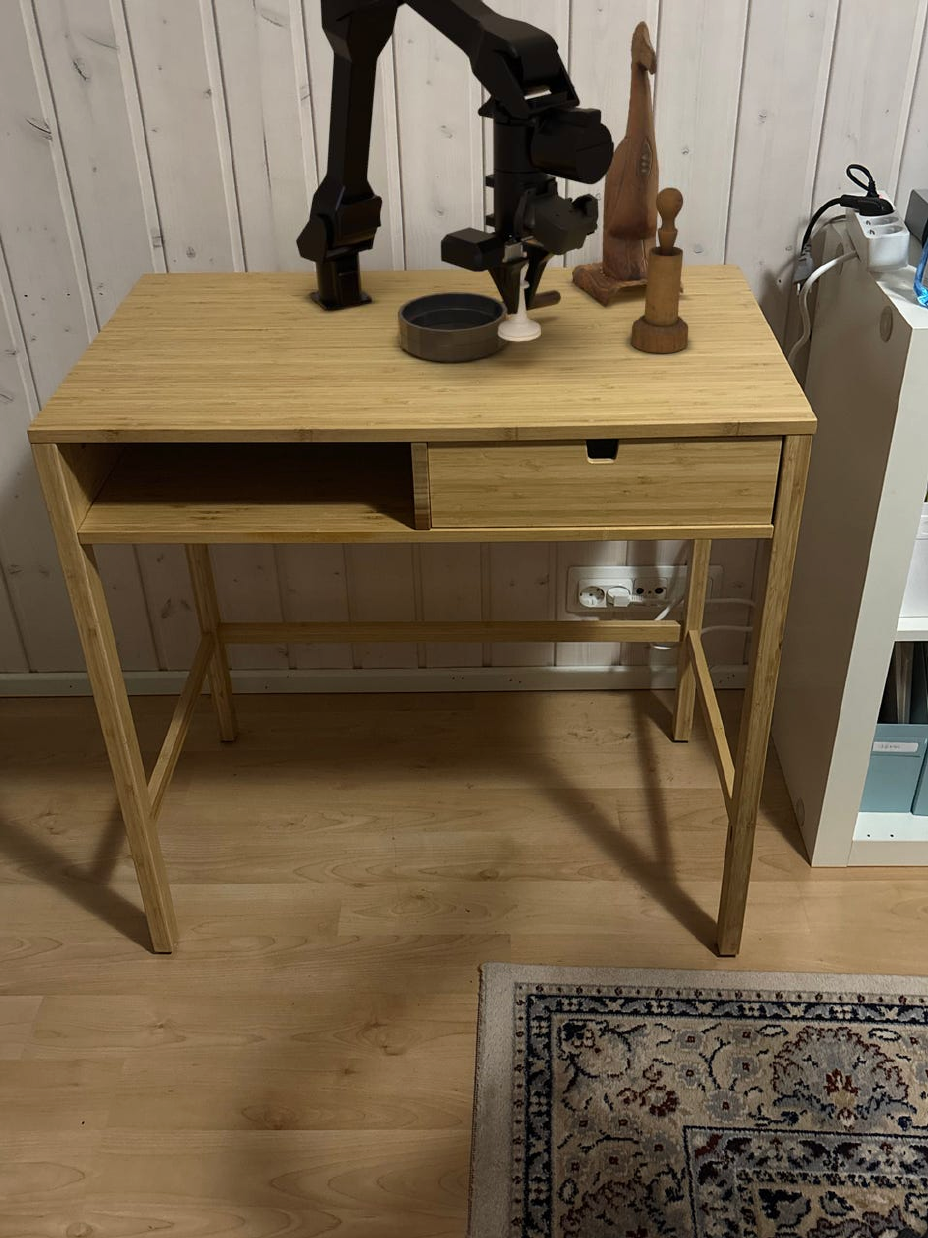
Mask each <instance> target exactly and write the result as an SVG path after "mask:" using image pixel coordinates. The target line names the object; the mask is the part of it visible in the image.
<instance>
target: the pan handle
mask: <svg viewBox="0 0 928 1238" xmlns="http://www.w3.org/2000/svg"><path fill="white" fill-rule="evenodd" d="M561 299H562V295H561V293H560V292H559V291H558V290H556V289H550V290H546V291H542V292H536V294H535V297H534V300H533V302H532V305H531V308H530V309H528V310H527V309H526V312H528V311H533V310H538V309H543V308H547V307H552V306H556V305H558V304H559V303H561ZM500 301H501V302H502V303H504V301H503V300H500ZM495 306H496V305H495V304H494V312H495V313H496V314H498V312H499V307H498V306H496V307H495ZM498 315H499V314H498ZM510 315H512V314H511V313H509V312H508V316H510Z"/></svg>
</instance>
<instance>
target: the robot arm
mask: <svg viewBox="0 0 928 1238" xmlns="http://www.w3.org/2000/svg"><path fill="white" fill-rule="evenodd" d="M319 1H320V15H321V16H320V20H321V30H322V31H323V34H324V35H325V37H326V40H327V41H328V44H329V46H330V47H331V49H332V52H333V61H332V75H331V76H332V77H331V78H332V79H331V96H330V111H329V127H328V145H327V163H326V173H325V175H324V177H323V179H322V180H321V182H320V184H319V185H318V187H317V188H316V190H315V192H314V193H313V195H312V199H311V205H310V211H309V216H308V217H309V218H308V221H307V223H306V224H305V226H304V227H303V229H302V230H301V232H300V234H299V235H298V236H297V238H296V240H295V243H296V247H297V250H298V254H299V257H300V258H301V259H305V260H308V261H310V262H313V263H315V273H316V283H317V291H316V290H315V291H312V292H309V298H310V299H312V300H314V302H316V303H317V304H318V305H319V306H320V307H322V308H323V309H324V310H326V311H333V310H338V309H343V308H348V307H353V306H359V305H362V304H368V303H371V302H372V301H373V299H372V296H371V295H369V294H367V293H366V292H365V291H363V289H362V277H361V276H362V275H361V264H360V253H362V252H365V251H370V250H373V249H374V243H375V237H376V234H377V233H378V228H381V227H382V222H381V221H382V220H381V211H382V207H383V198H382V196H380V195H378V194H376V193H375V191H374V189H373V188H372V185H371V184H370V181H369V179H368V178H369V177H368V174H369V161H370V151H371V149H370V148H371V139H372V138H371V137H372V126H373V114H374V102H375V101H374V100H375V93H376V92H375V90H376V78H377V68H378V67H377V65H378V59H379V57H380V55H381V54H382V52H383V50H384V49H385V47H386V45H387V44H388V42H389V40H391V39H390V38H391V37H392V35H393V32H394V29H395V24H396V19H397V14H398V10H399V8H401V7H403V6H404V5H407V6H408V7H409V8H410V9H411V10H413V11H414V12H415V13H416V14H418V16H420V17H421V18H422V19H423V20H425V21H426V22H427V23H429V24H430V25H431V26H432V27H433V28H434V29H436V31H438V32H439V33H441V35H443V36H444V37H445V38H446V39H448V40H449V41H450V42H451V43H452V44H453V45H455V46H456V47H458V49H460V50H461V51H462V52H463V53H464V54H465V56H466V57H467V58H468V61H469V64H470V70H471V72H472V75H473V76H474V77H475V79H476V80H477V81H478V82H479V83H480V85H482V86H483V88H484V89H485V90H486V91H487V93H488V94H489V95H490V96H489V98H488V100H486V101H485V102H484V103H483V104H482V105H481V106H480V107H479V108H478V109H477V115H478V116H479V117H482V118H486V119H491V120H492V174H491V173H490V174H487V175H485V176H484V186H485V187H488V188H491V189H493V190H492V191H493V192H492V193H493V194H492V195H493V198H492V199H493V200H492V201H493V205H492V206H493V210H492V211H493V212H492V213H490V214H486V215H484V216H485V226H487V227H491V228H493V230H494V231H493V232H487V231H483V230H480V229H477V228H473V227H466V228H462V229H460V230H456V231H453V232H450V233H446V234H445V235H444V237H443V238H442V239H441V240H440V261H441V262H443V263H445V264H449V265H453V266H455V267H458V268H461V269H464V270H467V271H471V272H474V273H482V272H486V271H487V272H488V273H489V275H490V277H491V278H492V280H493V283H494V285H495V287H496V289H497V291H498V293H499V295H500V297H501V299H502V301H504V304H505V306H506V308H507V310H508V312H509V313H511V314H510V315H512V314H517V313H518V307H519V297H520V277H521V270H522V268H523V267H524V266H525V265H526V264H527V263H529V266H528V269H527V272H526V275H525V278H524V280H525V281H527V282H528V283H529V287H527V288H525V289H524V298H525V306H526V309H527V310H528V309H530V308H531V305H532V302H533V300H534V297H535V294H536V293H537V291H538V287H539V285H540V282H541V280H542V277H543V275H544V272H545V269H546V267H547V265H548V263H549V261H550V260H551V259H552V258H554V257H555V256H564V255H566V254H567V253H568V252H571V251H574V250H581V249H582V248H583V247H584V245H585V241H586V239H587V236H591V235H594V234H595V233H596V231H597V230H598V228H599V226H598V220H599V215H600V214H599V200H598V198H597V197H595V196H594V195H593V194H591V193H585V194H583V195H579V196H577V197H576V198H575V199H574V198H572V197H567V198H563V197H562V196H561V195H559V189H558V188H559V182H558V181H557V178H560V179H564V180H568V181H573V182H577V183H580V184H585V185H595V184H597V183H599V182H601V181H602V179H603V178H605V175H606V173H607V171H608V169H609V167H610V165H611V162H612V159H613V153H614V151H615V142H614V141H613V138H612V133H611V131H610V129H609V128H608V127H607V125H605V124H604V123H602V110H601V109H599V108H595V107H594V108H593V107H589V108H582V107H580V105H581V100H580V98H579V95H578V93H577V91H576V89H575V88H576V87H575V85H574V84H573V83H572V80H571V78H570V75H569V74H568V73H569V72H568V71H567V69H566V67H565V65H564V62H563V60H562V57H561V55H560V53H559V45H558V43H557V40H555V38H554V37H553V36H552V35H551V33H548V32H547V31H545V30H543V29H541V28H539V27H537V26H534V25H532V24H531V23H529V22H527V21H522V20H519V19H515V18H510V17H508V16H507V17H506V16H503V15H502V14H500V13H497V12H496V11H495V10H493V9H492V8H491V7H490V6H488V5H487V4H486V3H485V2H483V1H482V0H319ZM548 91H549V92H550V93H546V94H543V93H545V92H548ZM539 94H541V95H539ZM535 95H538V96H535ZM531 96H534V97H531ZM526 97H529V98H526ZM521 245H522V251H524V252H527V256H526V257H522V256H521Z"/></svg>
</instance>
